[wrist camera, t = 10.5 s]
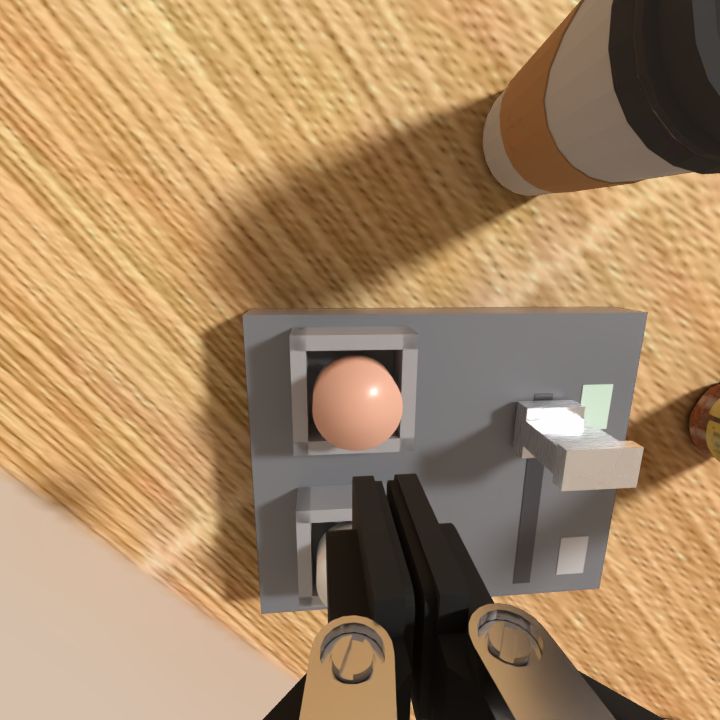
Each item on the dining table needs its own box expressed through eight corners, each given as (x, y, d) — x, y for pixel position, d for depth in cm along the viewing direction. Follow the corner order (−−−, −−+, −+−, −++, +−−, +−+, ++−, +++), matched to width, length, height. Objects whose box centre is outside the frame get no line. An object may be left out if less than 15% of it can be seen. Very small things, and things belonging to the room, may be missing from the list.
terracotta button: (393, 429, 23) (401, 449, 21) (313, 432, 23) (313, 452, 20) (395, 353, 22) (404, 364, 20) (312, 354, 21) (311, 366, 19)
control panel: (574, 559, 33) (623, 617, 27) (266, 579, 30) (255, 648, 25) (613, 306, 28) (682, 318, 22) (251, 308, 25) (233, 322, 20)
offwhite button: (388, 580, 25) (396, 612, 23) (317, 585, 25) (317, 618, 23) (390, 517, 24) (398, 545, 22) (315, 521, 24) (315, 550, 22)
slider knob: (569, 447, 26) (634, 496, 21) (509, 449, 26) (560, 500, 20) (576, 399, 26) (645, 438, 20) (514, 401, 25) (568, 441, 20)
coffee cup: (537, 241, 26) (806, 221, 12) (434, 158, 24) (603, 15, 10) (623, 123, 25) (1042, -62, 10) (521, 27, 23) (858, -355, 9)
